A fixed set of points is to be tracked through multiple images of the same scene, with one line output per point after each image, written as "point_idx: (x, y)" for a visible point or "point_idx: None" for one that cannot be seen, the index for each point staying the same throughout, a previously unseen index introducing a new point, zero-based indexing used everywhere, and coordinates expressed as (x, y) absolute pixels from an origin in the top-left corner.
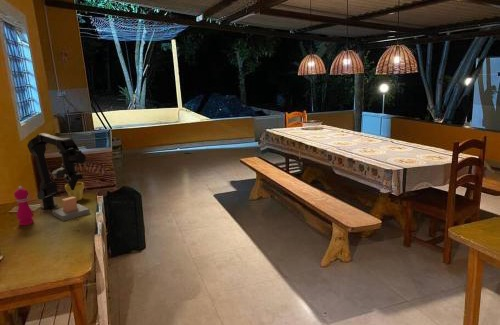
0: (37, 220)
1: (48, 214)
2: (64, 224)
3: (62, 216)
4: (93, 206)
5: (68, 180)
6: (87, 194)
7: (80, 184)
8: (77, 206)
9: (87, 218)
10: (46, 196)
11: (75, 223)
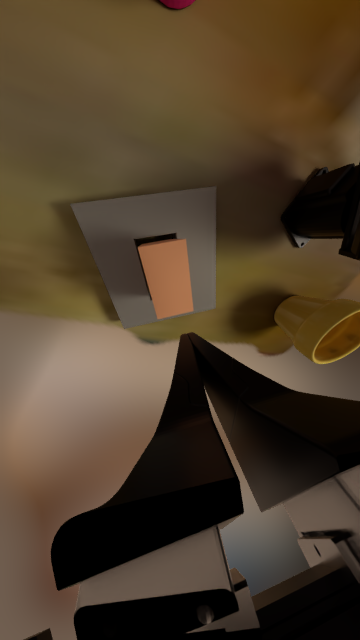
0: (177, 61)
1: (228, 175)
2: (12, 198)
3: (71, 205)
4: None
5: (56, 535)
6: None
7: (330, 351)
8: None
9: (66, 305)
10: None
11: (10, 251)
